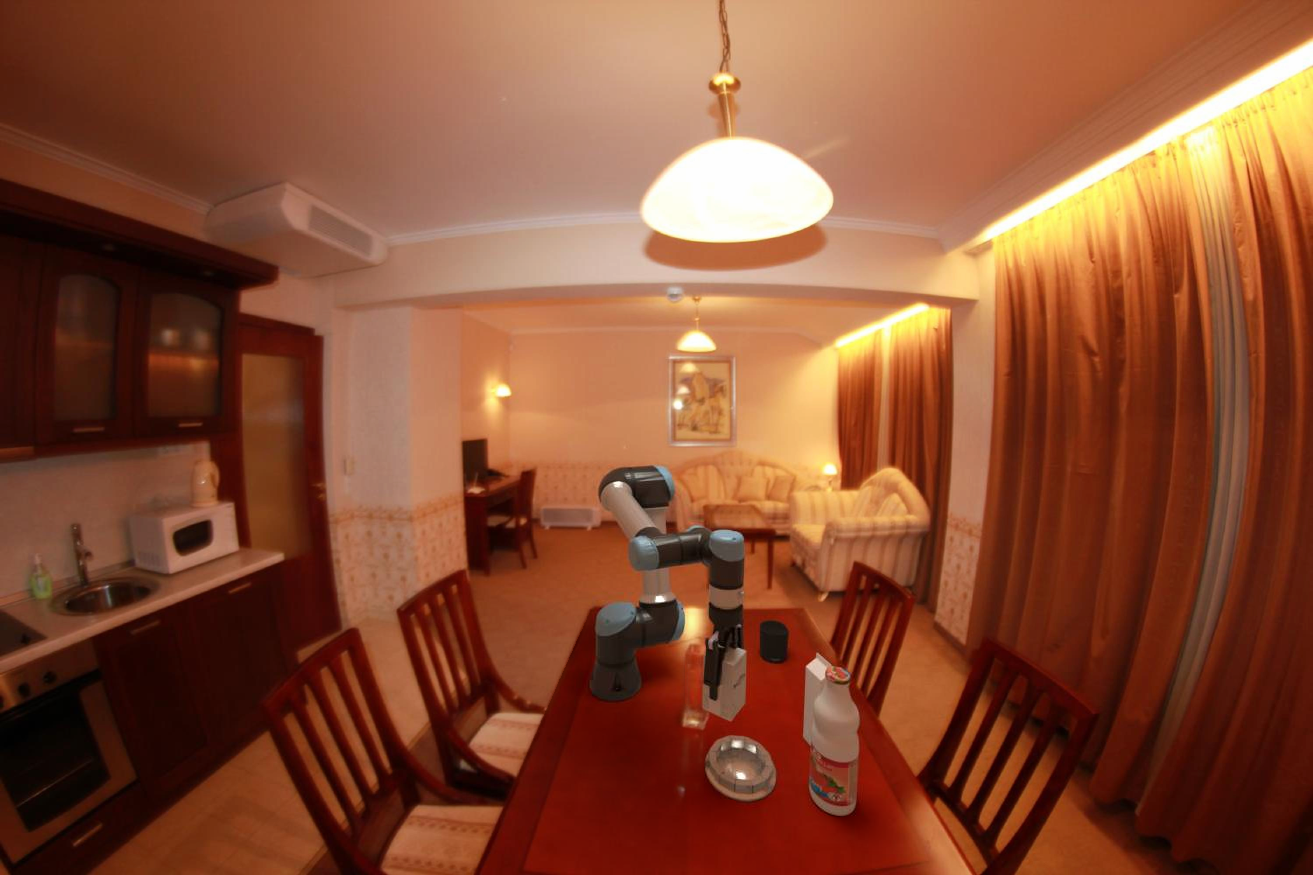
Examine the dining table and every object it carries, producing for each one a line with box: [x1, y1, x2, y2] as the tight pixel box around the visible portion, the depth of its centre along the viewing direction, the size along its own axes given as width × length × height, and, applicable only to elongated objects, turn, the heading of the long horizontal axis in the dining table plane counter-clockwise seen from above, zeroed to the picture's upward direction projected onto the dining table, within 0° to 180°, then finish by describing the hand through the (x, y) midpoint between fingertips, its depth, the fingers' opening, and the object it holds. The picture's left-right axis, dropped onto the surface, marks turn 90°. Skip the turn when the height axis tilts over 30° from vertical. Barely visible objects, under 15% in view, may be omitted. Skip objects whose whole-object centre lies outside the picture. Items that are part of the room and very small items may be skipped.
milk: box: [802, 652, 833, 747], centre depth 109 cm, size 6×6×22 cm
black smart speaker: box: [759, 619, 790, 664], centre depth 147 cm, size 9×9×10 cm
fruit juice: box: [808, 665, 860, 817], centre depth 94 cm, size 9×9×28 cm
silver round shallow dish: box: [704, 734, 777, 803], centre depth 101 cm, size 16×16×3 cm
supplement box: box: [701, 645, 747, 722], centre depth 98 cm, size 7×7×13 cm
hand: (724, 701), depth 99 cm, fingers closed on supplement box, 7 cm apart
